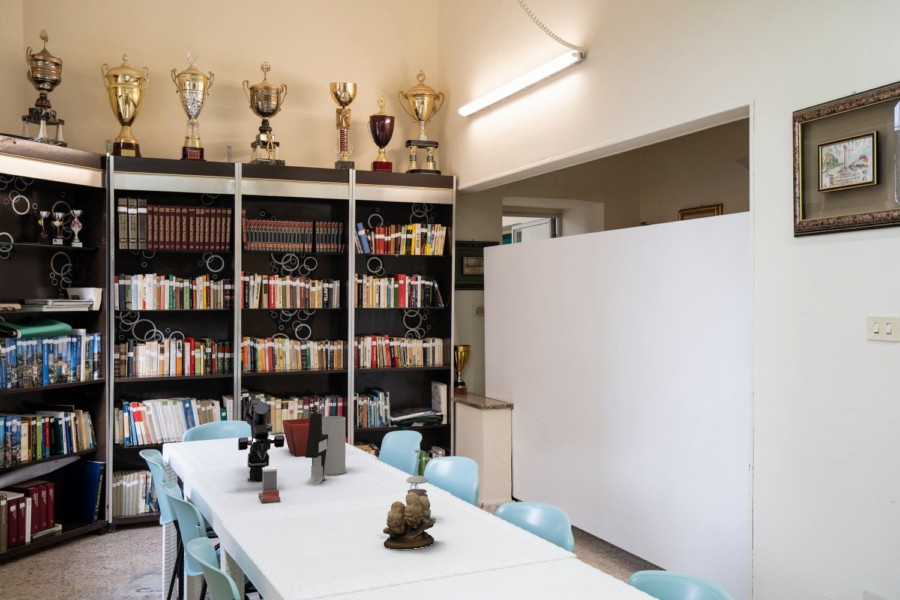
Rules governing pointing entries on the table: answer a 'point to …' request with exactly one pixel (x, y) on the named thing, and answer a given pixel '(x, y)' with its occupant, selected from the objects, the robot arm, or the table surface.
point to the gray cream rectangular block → (269, 478)
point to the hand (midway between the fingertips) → (262, 459)
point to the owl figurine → (409, 523)
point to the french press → (417, 482)
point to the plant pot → (296, 435)
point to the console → (269, 496)
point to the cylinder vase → (334, 444)
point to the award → (316, 449)
